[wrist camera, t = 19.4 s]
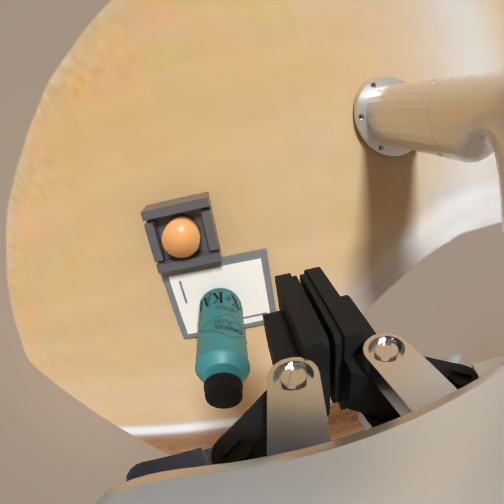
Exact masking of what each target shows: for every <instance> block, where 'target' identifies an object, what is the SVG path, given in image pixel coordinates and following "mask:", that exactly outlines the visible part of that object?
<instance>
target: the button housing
mask: <svg viewBox="0 0 504 504" xmlns="http://www.w3.org/2000/svg"><path fill="white" fill-rule="evenodd" d="M141 216H142V219H143V221H146V220H147V222H146V223H145V225H144V226H145V230H146V233H147V237H148V240H149V243H150V247H151V250H152V253H153V256H154V260H155V262H158V263H157V269H158V272H159V273H164V272H169V271H174V270H179V269H184V268H189V267H194V266H199V265H204V264H209V263H214V262H219V261H222V260H221V249H220V244H219V240H218V235H217V231H216V226H215V222H214V217H213V212H212V208H211V203H210V198H209V194H208V192H205V193H200V194H195V195H191V196H186V197H182V198H177V199H173V200H169V201H164V202H160V203H156V204H152V205H148V206H146V207H145V208H144V209H143V210H142V211H141ZM178 216H187V217H190V218H192V219H193V220H194V221H196V223H197V224H198V225H199V228H200V232H201V236H200V244H199V247H198V249H197V250H196V252H195V253H194V254H192V255H191V256H189V257H185V258H178V257H174V256H172V255H170V254H169V253H168V252H167V251H166V250H165V249H164V247H163V244H162V234H163V231H164V229H165V227H166V225H167V223H168V222H169V221H170V220H171V219H173V218H175V217H178Z"/></svg>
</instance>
